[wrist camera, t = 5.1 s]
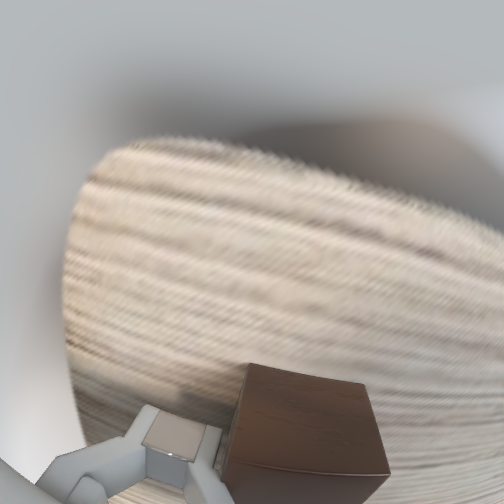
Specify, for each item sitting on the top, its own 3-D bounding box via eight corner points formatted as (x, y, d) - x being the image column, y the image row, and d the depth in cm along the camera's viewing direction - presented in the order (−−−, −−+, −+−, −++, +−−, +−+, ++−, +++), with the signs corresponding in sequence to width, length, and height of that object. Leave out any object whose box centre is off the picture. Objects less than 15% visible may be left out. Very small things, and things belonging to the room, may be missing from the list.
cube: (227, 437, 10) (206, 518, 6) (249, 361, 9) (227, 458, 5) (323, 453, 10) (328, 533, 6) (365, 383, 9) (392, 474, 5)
